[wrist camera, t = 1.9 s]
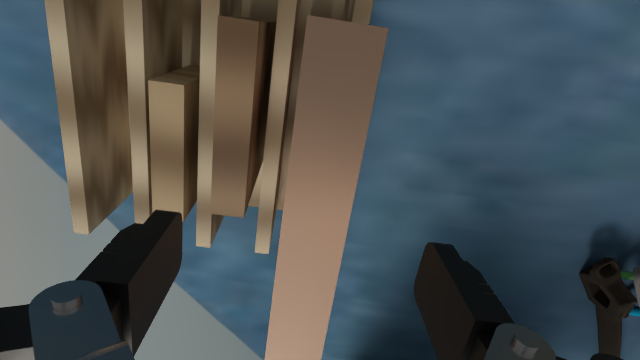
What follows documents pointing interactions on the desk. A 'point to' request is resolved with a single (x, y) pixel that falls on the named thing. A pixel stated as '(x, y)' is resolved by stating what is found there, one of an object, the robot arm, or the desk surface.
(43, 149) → the desk surface
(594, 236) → the desk surface
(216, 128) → the offcut tall
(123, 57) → the rack
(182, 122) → the offcut short
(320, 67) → the tall sheet
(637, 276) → the gear
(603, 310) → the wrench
